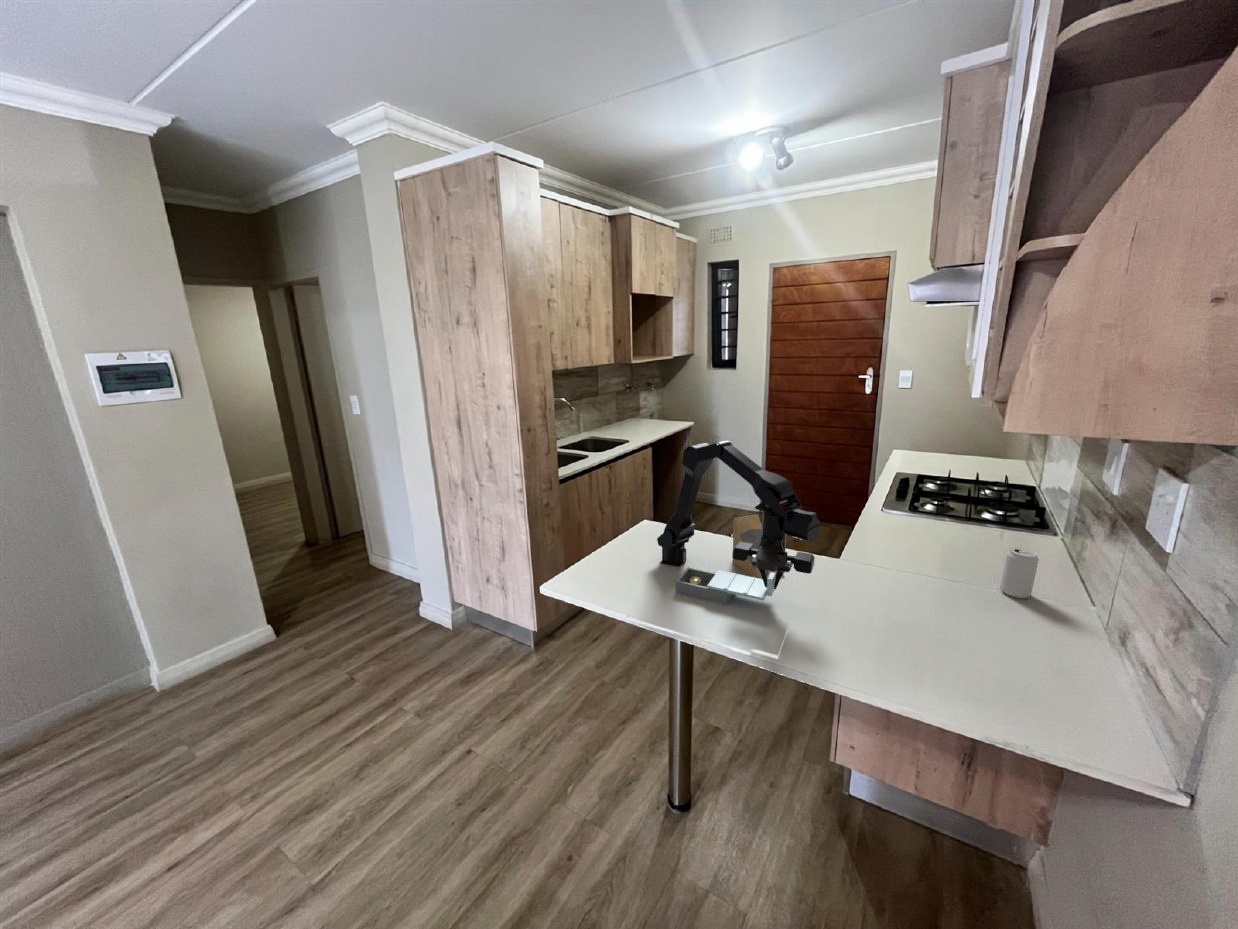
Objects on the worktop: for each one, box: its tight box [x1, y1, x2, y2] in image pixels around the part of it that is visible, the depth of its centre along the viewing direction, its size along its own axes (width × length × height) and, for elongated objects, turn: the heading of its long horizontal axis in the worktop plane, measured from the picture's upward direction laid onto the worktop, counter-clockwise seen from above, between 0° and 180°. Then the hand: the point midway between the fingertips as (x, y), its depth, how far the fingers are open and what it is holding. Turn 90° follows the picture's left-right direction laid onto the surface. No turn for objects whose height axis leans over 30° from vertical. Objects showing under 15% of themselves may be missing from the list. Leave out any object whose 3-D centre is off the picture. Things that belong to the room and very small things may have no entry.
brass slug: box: [690, 577, 701, 586], centre depth 131 cm, size 3×3×3 cm
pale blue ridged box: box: [707, 569, 776, 602], centre depth 124 cm, size 16×9×5 cm, turn 61°
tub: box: [675, 566, 734, 606], centre depth 130 cm, size 14×9×4 cm, turn 61°
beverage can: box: [999, 546, 1040, 599], centre depth 124 cm, size 6×6×12 cm
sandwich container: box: [732, 514, 786, 580], centre depth 139 cm, size 9×15×15 cm, turn 19°
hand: (770, 587), depth 121 cm, fingers closed
